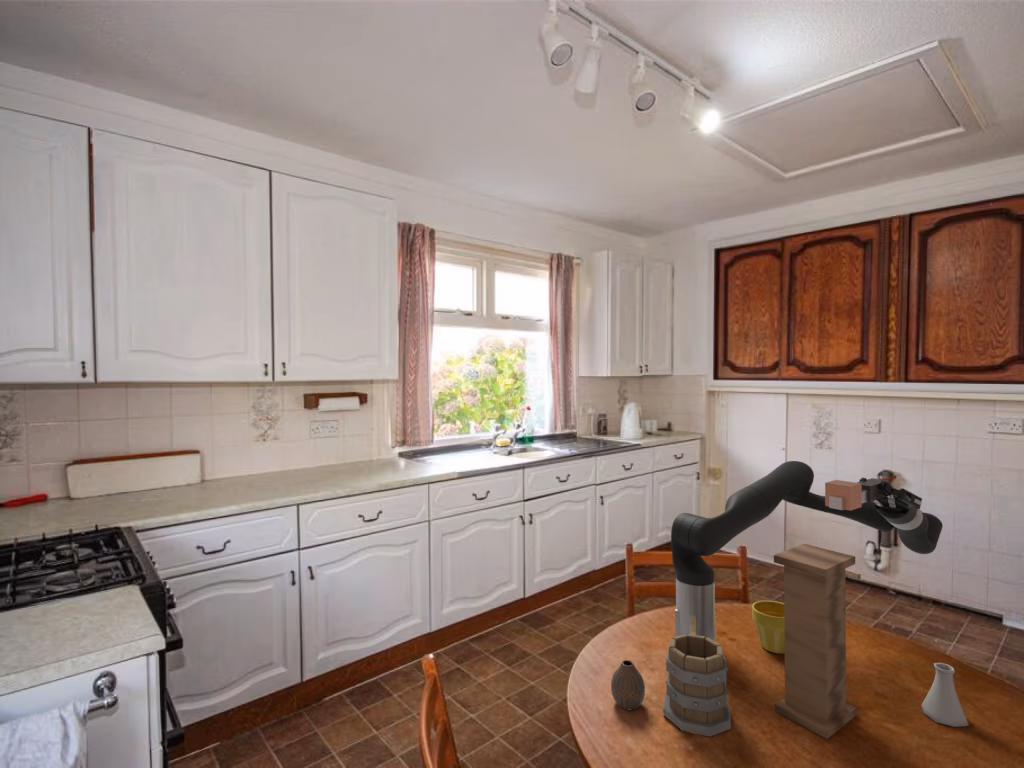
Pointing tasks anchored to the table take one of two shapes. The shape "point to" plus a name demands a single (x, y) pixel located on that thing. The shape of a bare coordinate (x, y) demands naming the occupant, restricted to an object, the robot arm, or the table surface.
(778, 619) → the plant pot
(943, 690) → the flask
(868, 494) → the orange and black bar
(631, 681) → the vase
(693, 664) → the tankard
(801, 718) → the walnut stand
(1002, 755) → the table surface
